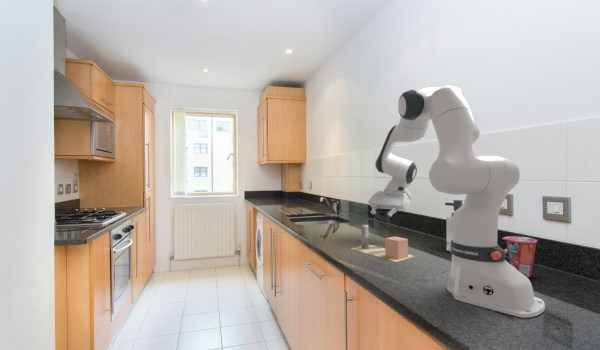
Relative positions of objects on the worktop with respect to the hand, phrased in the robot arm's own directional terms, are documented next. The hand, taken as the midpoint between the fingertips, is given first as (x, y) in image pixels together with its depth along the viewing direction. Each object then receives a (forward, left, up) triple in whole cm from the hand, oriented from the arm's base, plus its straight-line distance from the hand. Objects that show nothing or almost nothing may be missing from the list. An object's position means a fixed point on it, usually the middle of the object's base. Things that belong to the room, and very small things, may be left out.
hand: (380, 214), depth 134 cm
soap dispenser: (-23, -22, -15) cm, 35 cm away
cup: (-51, -9, -15) cm, 54 cm away
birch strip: (-9, +10, -15) cm, 20 cm away
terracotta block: (-16, +10, -14) cm, 24 cm away
